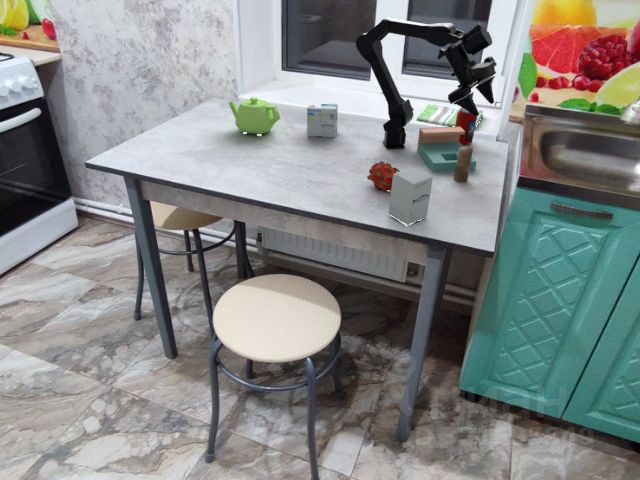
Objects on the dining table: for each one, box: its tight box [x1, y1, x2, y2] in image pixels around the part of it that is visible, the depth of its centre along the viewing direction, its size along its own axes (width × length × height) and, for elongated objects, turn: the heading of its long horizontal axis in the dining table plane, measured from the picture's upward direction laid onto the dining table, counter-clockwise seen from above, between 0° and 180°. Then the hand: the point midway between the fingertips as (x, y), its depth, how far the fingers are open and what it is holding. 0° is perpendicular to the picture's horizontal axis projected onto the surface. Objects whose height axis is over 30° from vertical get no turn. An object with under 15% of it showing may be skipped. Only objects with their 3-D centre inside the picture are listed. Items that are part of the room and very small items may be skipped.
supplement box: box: [388, 166, 434, 225], centre depth 123 cm, size 7×7×13 cm
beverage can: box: [455, 107, 477, 146], centre depth 166 cm, size 7×7×12 cm
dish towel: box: [416, 104, 484, 130], centre depth 189 cm, size 17×23×4 cm
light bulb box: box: [306, 101, 339, 138], centre depth 172 cm, size 11×7×11 cm, turn 83°
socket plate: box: [416, 126, 477, 173], centre depth 155 cm, size 14×17×8 cm
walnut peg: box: [453, 145, 474, 183], centre depth 142 cm, size 4×4×10 cm
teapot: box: [228, 96, 281, 134], centre depth 173 cm, size 20×13×13 cm
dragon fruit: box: [367, 160, 401, 192], centre depth 138 cm, size 8×8×12 cm
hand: (485, 109), depth 145 cm, fingers open, 9 cm apart
